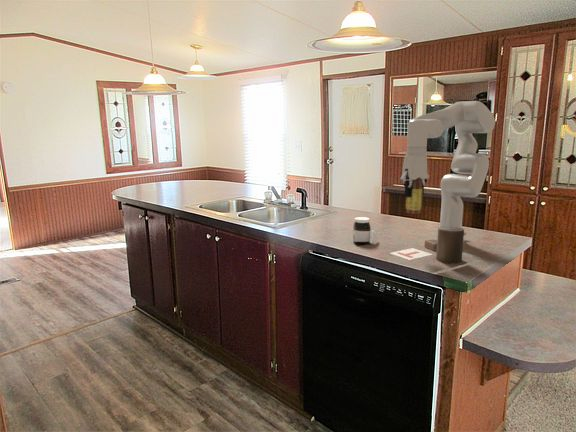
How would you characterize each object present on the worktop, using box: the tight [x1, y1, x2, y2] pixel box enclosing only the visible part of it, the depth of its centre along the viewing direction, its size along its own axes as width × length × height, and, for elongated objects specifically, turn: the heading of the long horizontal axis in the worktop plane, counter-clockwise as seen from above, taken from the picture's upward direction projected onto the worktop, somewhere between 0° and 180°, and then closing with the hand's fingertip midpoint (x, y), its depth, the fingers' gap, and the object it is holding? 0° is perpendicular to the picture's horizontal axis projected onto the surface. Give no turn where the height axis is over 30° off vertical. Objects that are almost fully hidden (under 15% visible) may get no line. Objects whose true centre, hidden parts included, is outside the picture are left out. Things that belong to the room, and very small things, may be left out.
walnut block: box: [424, 239, 437, 252], centre depth 182 cm, size 6×6×4 cm
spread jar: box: [352, 216, 379, 246], centre depth 192 cm, size 12×11×12 cm
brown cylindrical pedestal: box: [435, 225, 465, 264], centre depth 165 cm, size 10×10×15 cm
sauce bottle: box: [405, 177, 423, 215], centre depth 169 cm, size 6×6×20 cm
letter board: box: [389, 247, 433, 261], centre depth 175 cm, size 14×11×1 cm
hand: (414, 195), depth 170 cm, fingers closed on sauce bottle, 6 cm apart
